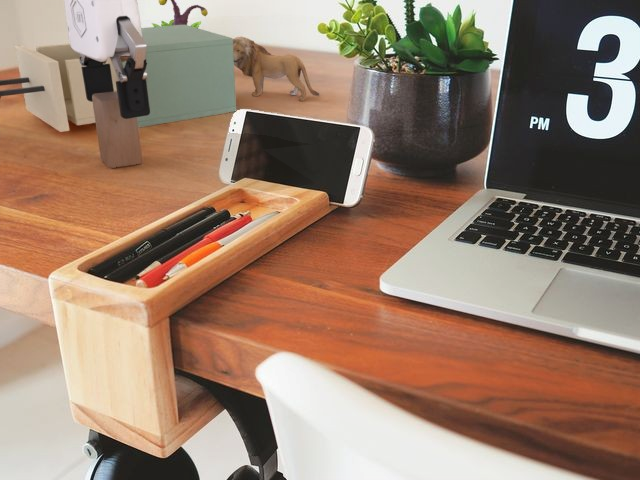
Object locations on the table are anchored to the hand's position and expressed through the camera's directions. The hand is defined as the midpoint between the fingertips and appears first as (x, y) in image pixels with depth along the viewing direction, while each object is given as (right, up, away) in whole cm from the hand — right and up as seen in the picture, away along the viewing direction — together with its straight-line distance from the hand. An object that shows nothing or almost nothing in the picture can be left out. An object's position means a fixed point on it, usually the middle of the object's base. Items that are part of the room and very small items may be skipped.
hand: (117, 107), depth 83 cm
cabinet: (-2, +6, +25) cm, 26 cm away
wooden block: (-1, -6, +3) cm, 7 cm away
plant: (-10, +26, +64) cm, 69 cm away
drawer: (-12, +3, +17) cm, 21 cm away
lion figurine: (+13, +10, +34) cm, 38 cm away
